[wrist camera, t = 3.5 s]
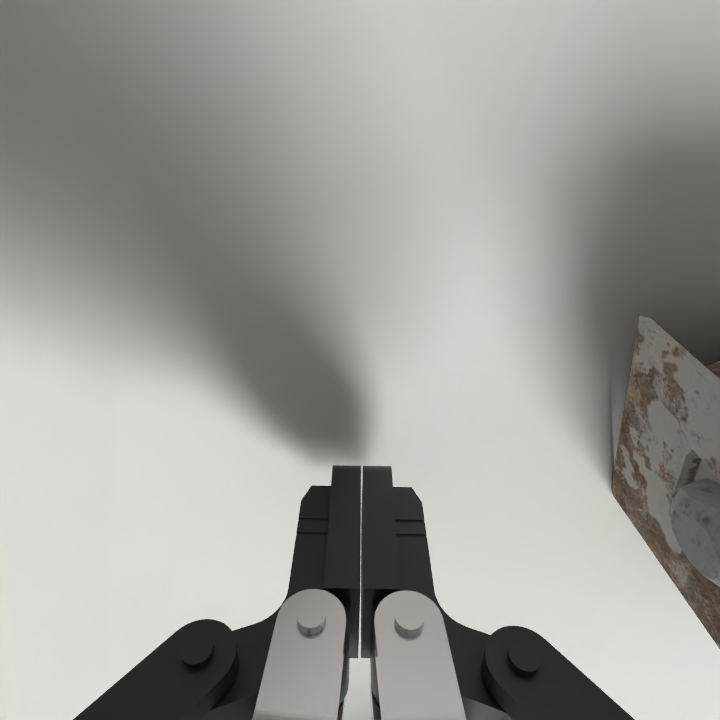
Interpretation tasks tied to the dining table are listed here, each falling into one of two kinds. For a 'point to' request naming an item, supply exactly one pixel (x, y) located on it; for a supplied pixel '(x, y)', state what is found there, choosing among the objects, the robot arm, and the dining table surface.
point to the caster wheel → (674, 465)
